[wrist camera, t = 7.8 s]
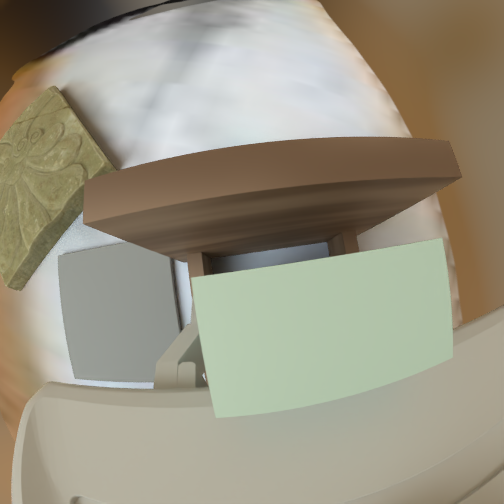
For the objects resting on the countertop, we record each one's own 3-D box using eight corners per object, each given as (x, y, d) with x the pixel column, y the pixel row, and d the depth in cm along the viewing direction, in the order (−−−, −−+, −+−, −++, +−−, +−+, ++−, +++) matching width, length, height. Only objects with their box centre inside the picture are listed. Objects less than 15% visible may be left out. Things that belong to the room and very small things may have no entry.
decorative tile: (62, 92, 25) (50, 78, 22) (122, 173, 23) (106, 158, 20) (-15, 189, 24) (-30, 182, 20) (21, 297, 22) (0, 297, 18)
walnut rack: (368, 376, 20) (470, 449, 6) (207, 404, 20) (158, 519, 6) (348, 219, 22) (449, 140, 8) (181, 243, 22) (84, 180, 8)
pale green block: (310, 308, 20) (452, 357, 4) (244, 319, 20) (215, 418, 4) (305, 274, 20) (442, 237, 5) (239, 284, 20) (191, 277, 5)
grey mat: (190, 379, 20) (188, 381, 20) (78, 377, 20) (74, 378, 20) (169, 236, 22) (167, 235, 21) (61, 256, 22) (57, 255, 21)
